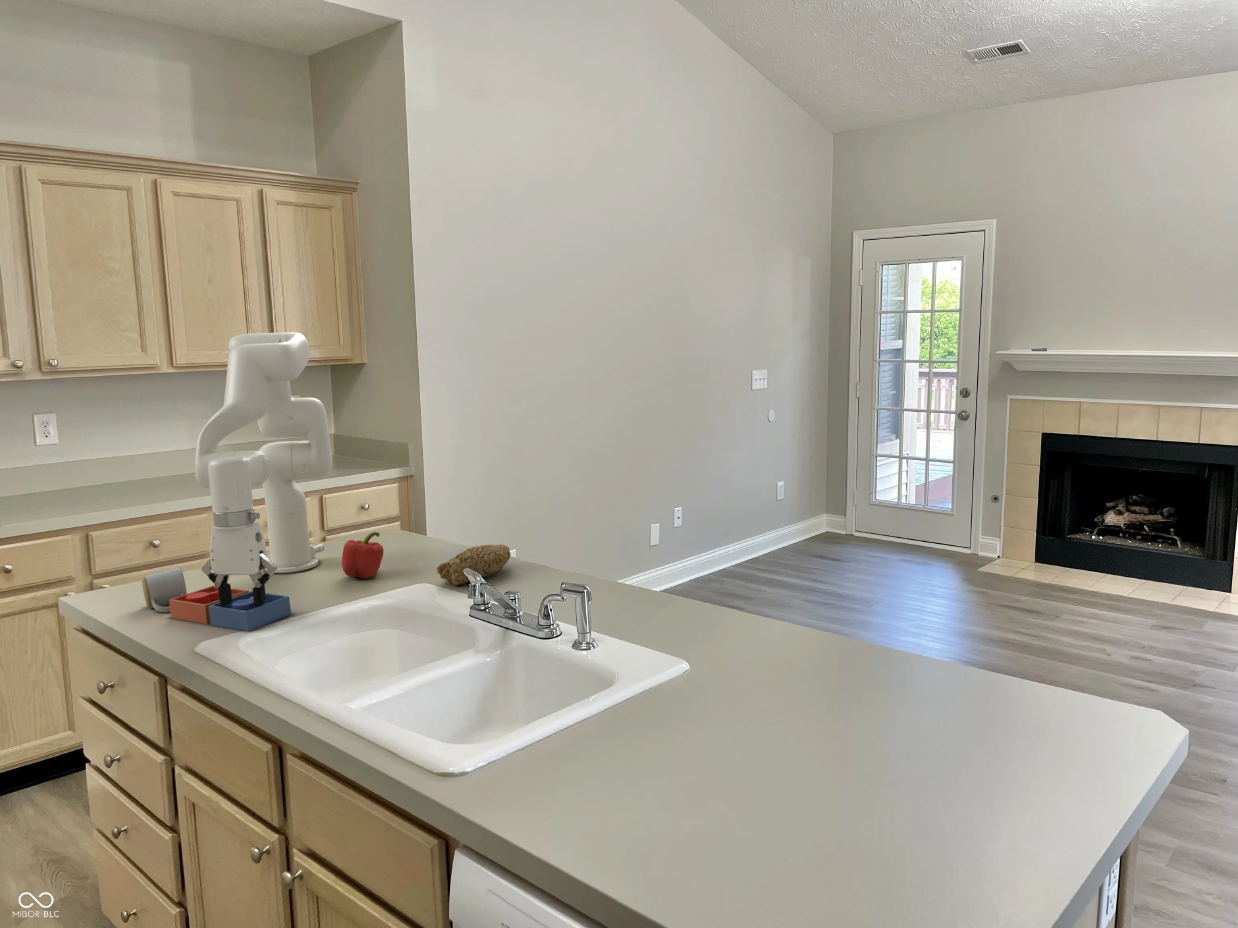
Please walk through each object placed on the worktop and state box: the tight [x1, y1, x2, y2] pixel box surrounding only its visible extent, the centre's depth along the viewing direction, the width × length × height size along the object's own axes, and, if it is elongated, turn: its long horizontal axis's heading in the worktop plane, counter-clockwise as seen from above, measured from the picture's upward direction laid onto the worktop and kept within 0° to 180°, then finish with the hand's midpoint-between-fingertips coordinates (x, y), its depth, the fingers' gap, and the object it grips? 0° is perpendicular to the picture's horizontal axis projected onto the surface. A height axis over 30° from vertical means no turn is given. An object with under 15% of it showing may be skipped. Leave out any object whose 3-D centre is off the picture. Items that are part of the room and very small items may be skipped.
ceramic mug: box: [141, 567, 188, 613], centre depth 198 cm, size 11×8×8 cm
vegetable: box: [341, 531, 385, 579], centre depth 217 cm, size 11×10×10 cm
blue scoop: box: [231, 596, 255, 611], centre depth 187 cm, size 9×4×4 cm, turn 173°
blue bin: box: [208, 590, 292, 632], centre depth 187 cm, size 11×11×4 cm
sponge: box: [436, 543, 511, 586], centre depth 214 cm, size 13×8×20 cm
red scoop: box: [186, 589, 233, 605], centre depth 193 cm, size 9×4×4 cm, turn 133°
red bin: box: [169, 585, 250, 625], centre depth 193 cm, size 11×11×4 cm
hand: (243, 603), depth 185 cm, fingers open, 6 cm apart
